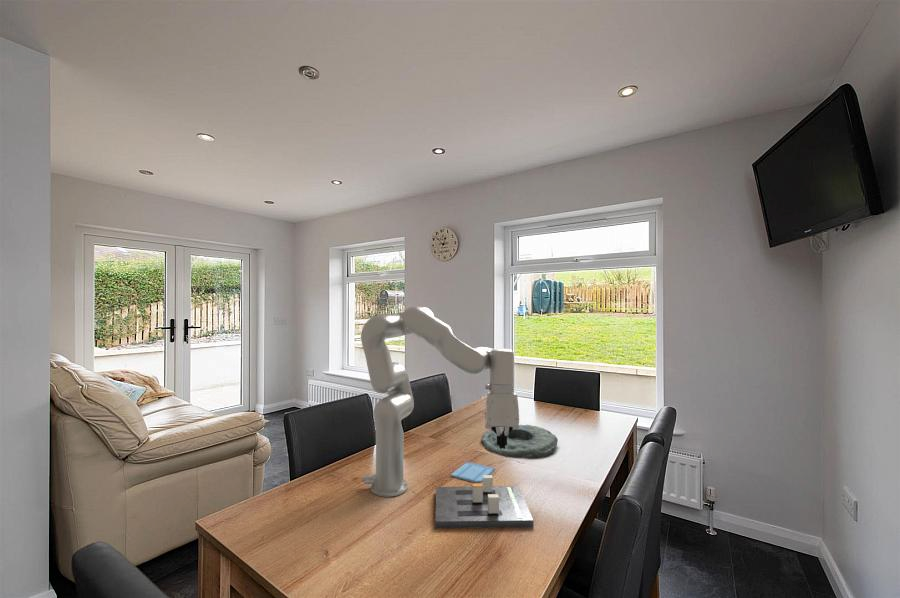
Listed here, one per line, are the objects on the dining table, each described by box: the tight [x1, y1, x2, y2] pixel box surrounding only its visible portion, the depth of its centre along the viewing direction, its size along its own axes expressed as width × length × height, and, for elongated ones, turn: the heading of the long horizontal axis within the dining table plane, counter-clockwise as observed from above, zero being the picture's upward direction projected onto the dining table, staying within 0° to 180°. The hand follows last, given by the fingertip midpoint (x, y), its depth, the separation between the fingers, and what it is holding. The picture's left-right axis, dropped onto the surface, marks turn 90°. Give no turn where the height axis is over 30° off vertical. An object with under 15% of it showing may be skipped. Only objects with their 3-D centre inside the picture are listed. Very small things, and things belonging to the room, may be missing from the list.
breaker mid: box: [471, 482, 483, 502], centre depth 122 cm, size 3×2×5 cm, turn 92°
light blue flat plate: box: [450, 461, 496, 483], centre depth 148 cm, size 14×12×1 cm
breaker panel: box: [435, 485, 534, 530], centre depth 122 cm, size 28×21×2 cm
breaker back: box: [482, 474, 494, 492], centre depth 128 cm, size 3×2×5 cm, turn 92°
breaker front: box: [488, 494, 499, 513], centre depth 115 cm, size 3×2×5 cm, turn 92°
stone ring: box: [481, 424, 559, 459], centre depth 180 cm, size 34×34×5 cm
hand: (501, 447), depth 122 cm, fingers closed
